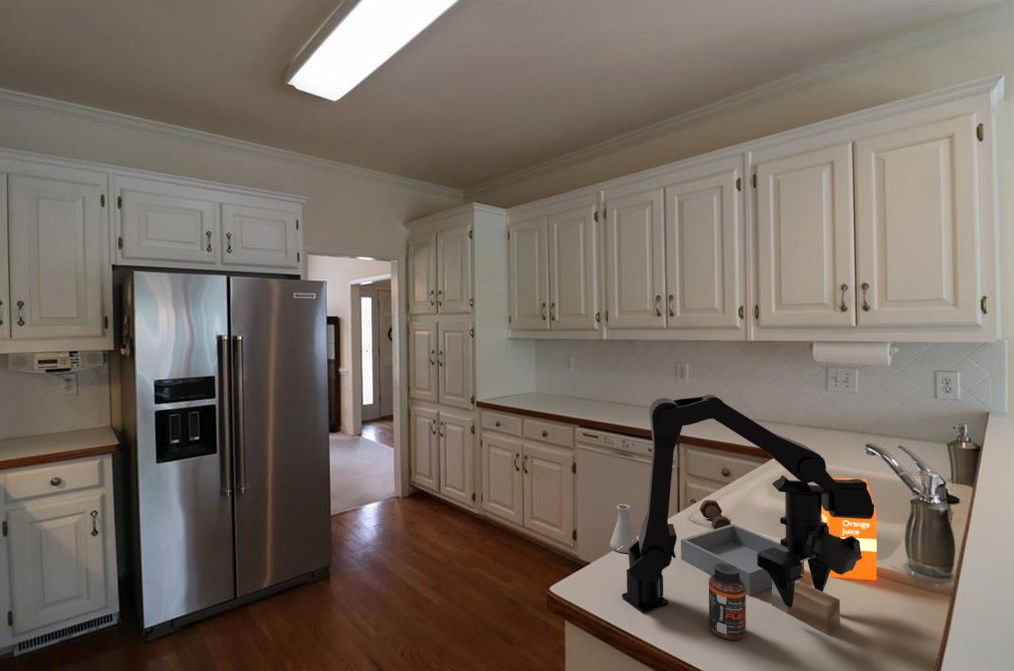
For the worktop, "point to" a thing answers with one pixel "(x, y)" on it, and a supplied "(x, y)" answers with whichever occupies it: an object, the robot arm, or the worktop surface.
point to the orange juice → (862, 532)
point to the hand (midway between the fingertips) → (804, 599)
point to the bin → (731, 554)
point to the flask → (623, 531)
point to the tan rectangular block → (811, 607)
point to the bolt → (714, 514)
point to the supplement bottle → (727, 602)
